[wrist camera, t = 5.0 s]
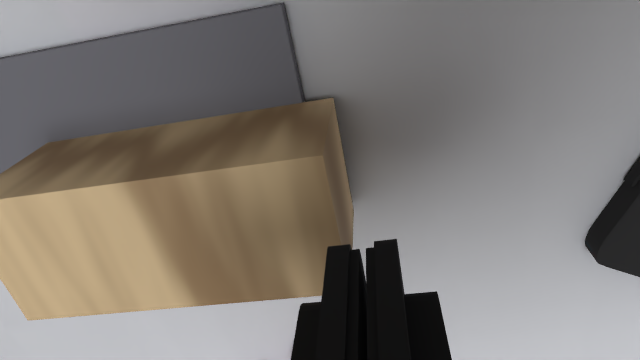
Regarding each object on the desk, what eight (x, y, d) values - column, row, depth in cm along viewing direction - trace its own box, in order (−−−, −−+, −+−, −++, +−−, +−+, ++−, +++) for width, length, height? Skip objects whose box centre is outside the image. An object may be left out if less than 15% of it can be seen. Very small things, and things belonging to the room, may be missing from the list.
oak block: (322, 155, 12) (-48, 205, 14) (350, 292, 15) (27, 320, 17) (333, 97, 17) (48, 142, 19) (353, 210, 19) (97, 240, 21)
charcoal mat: (283, 2, 16) (281, 5, 15) (340, 269, 21) (339, 277, 21) (-96, 76, 18) (-109, 80, 18) (41, 297, 24) (34, 305, 23)
